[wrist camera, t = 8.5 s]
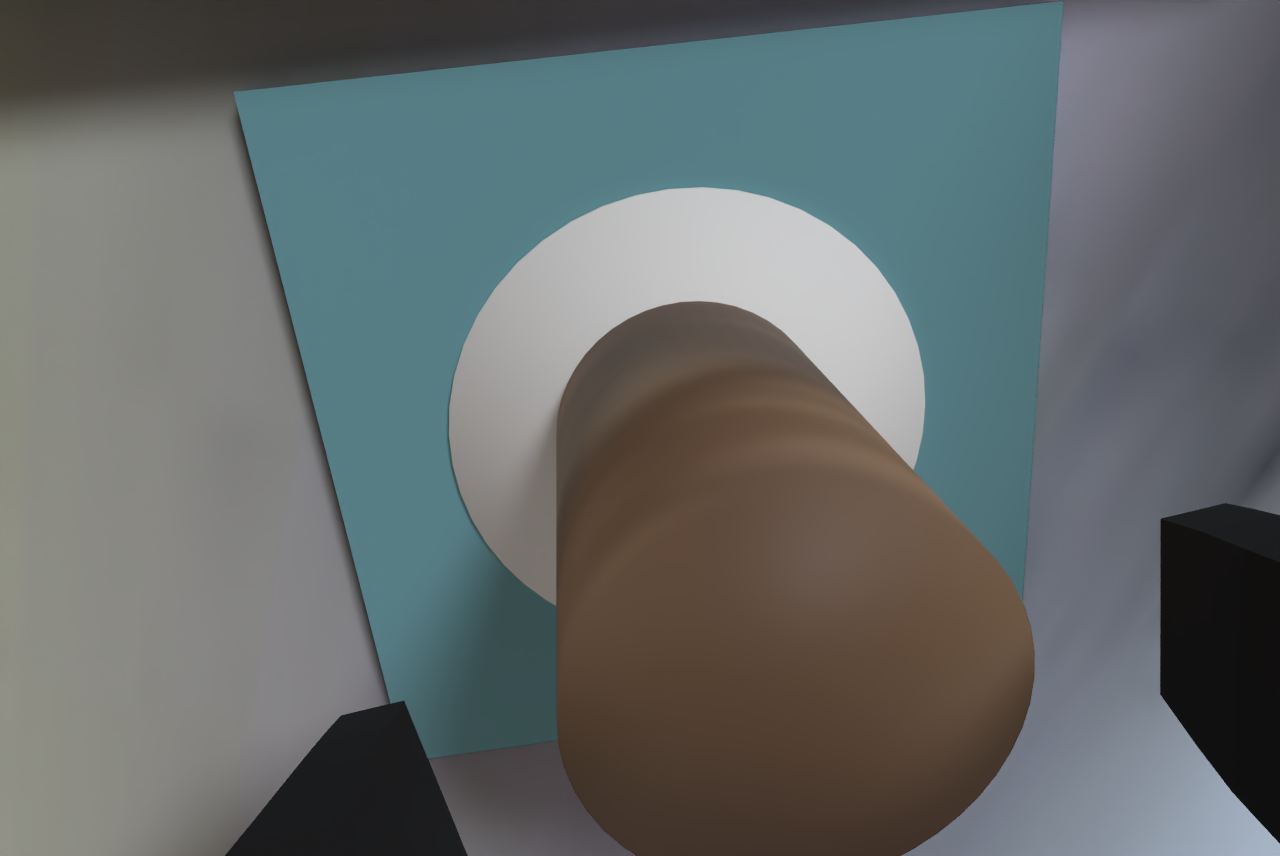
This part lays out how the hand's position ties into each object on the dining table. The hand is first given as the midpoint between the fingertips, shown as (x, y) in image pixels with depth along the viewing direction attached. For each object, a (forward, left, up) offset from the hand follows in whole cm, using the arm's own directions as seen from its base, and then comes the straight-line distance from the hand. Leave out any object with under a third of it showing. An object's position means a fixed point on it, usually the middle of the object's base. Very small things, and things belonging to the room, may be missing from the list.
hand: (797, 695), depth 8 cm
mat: (0, 0, -7) cm, 7 cm away
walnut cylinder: (0, 0, -7) cm, 7 cm away
